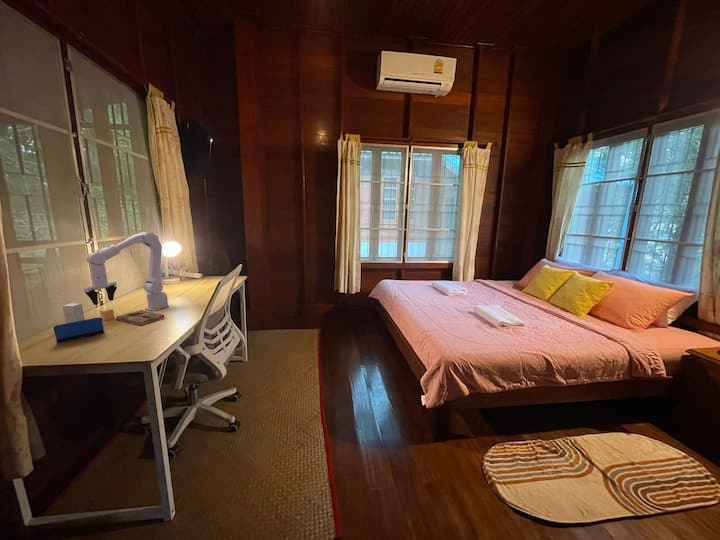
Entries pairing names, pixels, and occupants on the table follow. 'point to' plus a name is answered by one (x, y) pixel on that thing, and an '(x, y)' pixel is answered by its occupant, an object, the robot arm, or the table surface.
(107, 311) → the square bit
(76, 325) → the blue box
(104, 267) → the robot arm
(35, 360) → the table surface
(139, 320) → the socket block
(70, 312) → the skincare box
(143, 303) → the table surface
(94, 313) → the table surface
